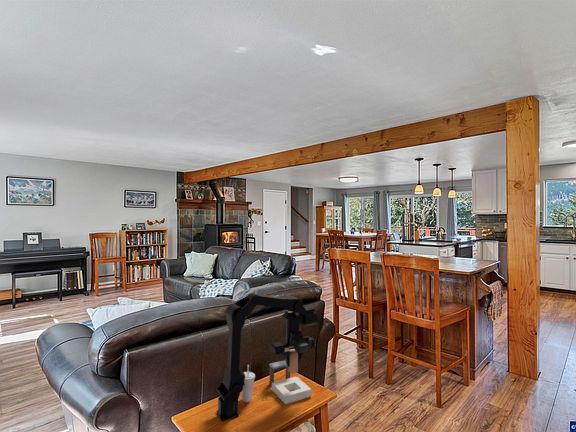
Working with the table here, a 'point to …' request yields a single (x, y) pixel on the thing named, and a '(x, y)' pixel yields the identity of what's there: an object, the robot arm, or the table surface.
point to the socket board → (289, 384)
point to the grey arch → (275, 366)
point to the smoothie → (248, 386)
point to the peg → (293, 361)
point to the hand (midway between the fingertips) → (292, 365)
